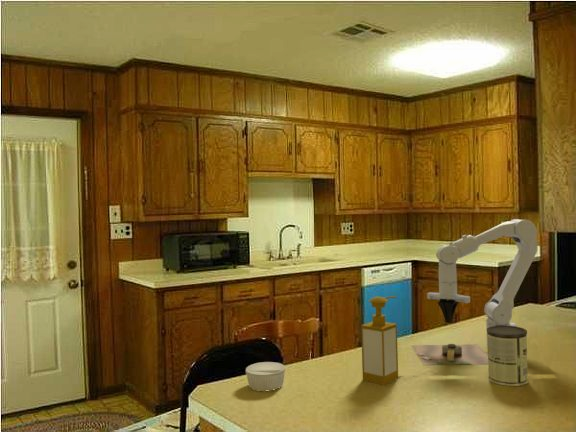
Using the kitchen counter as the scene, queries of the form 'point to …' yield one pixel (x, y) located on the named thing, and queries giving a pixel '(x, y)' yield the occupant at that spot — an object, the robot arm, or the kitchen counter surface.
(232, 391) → the kitchen counter surface
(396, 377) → the soap bottle
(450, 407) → the kitchen counter surface
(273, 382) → the ramekin
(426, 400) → the kitchen counter surface
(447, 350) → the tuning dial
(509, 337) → the coffee can
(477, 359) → the brown flat square slab
